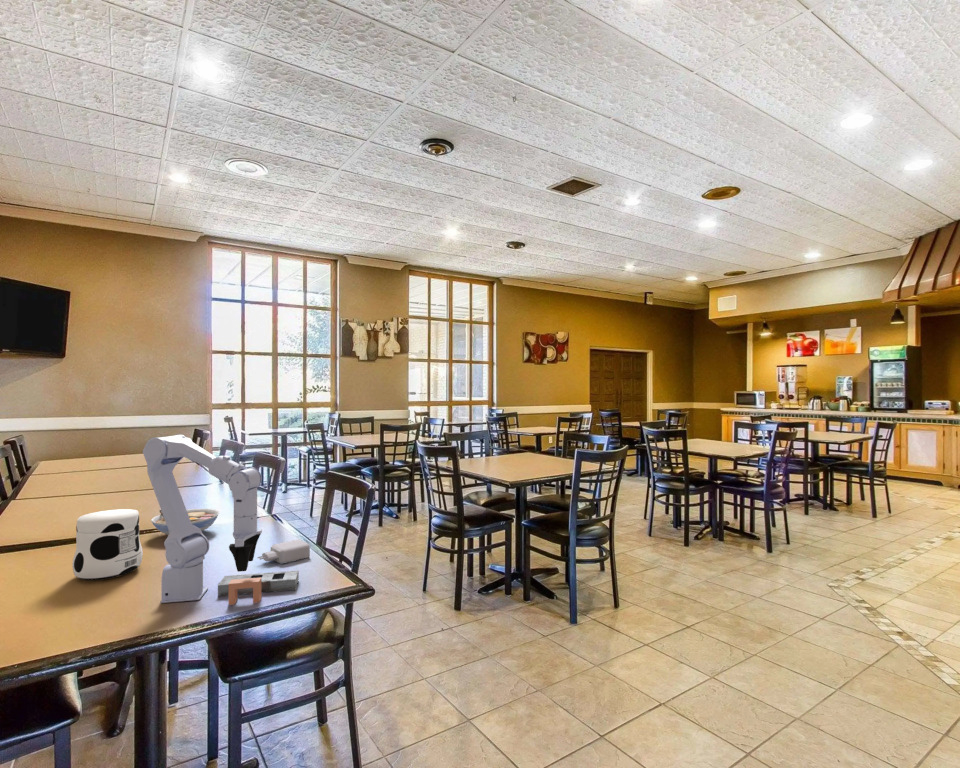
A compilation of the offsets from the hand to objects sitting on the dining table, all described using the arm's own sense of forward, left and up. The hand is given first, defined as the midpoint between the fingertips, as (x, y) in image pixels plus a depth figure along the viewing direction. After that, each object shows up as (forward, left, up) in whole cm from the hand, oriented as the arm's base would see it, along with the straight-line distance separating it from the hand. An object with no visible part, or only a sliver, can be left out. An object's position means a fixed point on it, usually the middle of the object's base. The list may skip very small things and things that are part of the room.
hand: (245, 565), depth 137 cm
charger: (+4, +32, -10) cm, 34 cm away
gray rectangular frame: (+2, +8, -9) cm, 13 cm away
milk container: (-45, +30, -10) cm, 55 cm away
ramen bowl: (-36, +70, -10) cm, 79 cm away
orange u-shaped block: (0, 0, -9) cm, 9 cm away
